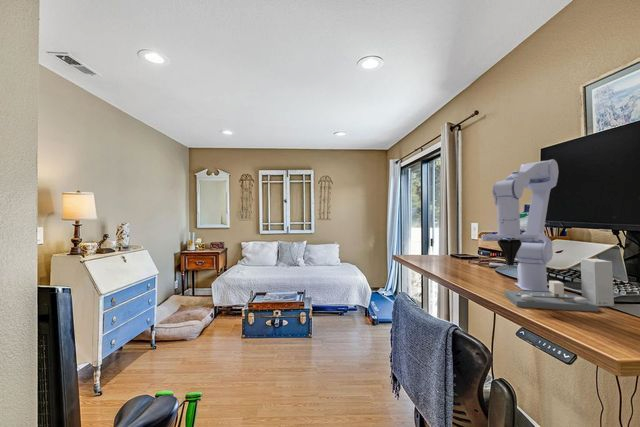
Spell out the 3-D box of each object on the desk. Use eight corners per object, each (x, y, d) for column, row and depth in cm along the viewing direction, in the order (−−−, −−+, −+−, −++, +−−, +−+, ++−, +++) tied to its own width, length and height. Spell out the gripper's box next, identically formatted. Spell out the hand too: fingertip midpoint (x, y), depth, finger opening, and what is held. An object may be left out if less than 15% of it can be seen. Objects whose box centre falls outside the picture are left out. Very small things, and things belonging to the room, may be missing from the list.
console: (504, 295, 92) (504, 286, 92) (574, 298, 86) (574, 289, 87) (517, 306, 81) (516, 296, 81) (598, 311, 75) (598, 300, 75)
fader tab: (549, 295, 85) (548, 280, 85) (558, 295, 84) (558, 280, 84) (554, 298, 82) (553, 283, 82) (564, 298, 81) (563, 283, 81)
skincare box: (615, 306, 78) (613, 261, 78) (596, 306, 79) (594, 261, 79) (598, 300, 84) (596, 258, 84) (581, 299, 85) (579, 258, 85)
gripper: (484, 220, 87) (485, 266, 87) (542, 219, 83) (543, 268, 83) (479, 220, 94) (480, 262, 94) (532, 219, 90) (534, 263, 90)
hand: (509, 265), depth 89 cm, fingers closed
